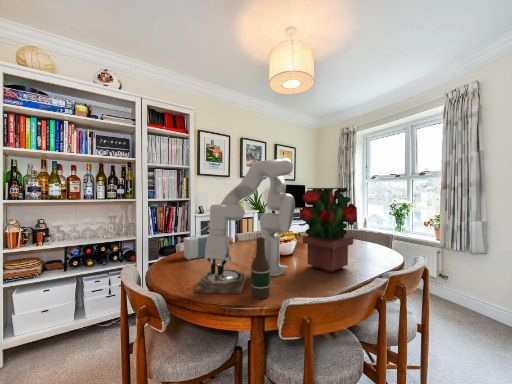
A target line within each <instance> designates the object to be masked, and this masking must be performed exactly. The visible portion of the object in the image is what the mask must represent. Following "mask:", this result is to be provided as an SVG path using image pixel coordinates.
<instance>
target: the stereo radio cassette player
mask: <svg viewBox="0 0 512 384" xmlns="http://www.w3.org/2000/svg"><path fill="white" fill-rule="evenodd" d="M208 227H209V225H207V226H206V227H204V228H202V229H200V230H199V231H198V232H196V233H195V234H194V235H192V236H187V237H183V257H184V258H185V259H186V260H189V261H190V260H193V259H194V260H195V259H200V258H203V257H204V256H205V248H206V241H207V237H208V235H210V234H209V233H208V234H202V235H198V234H199V233H201V232H202V231H203V230H205V229H206V228H208ZM204 258H205V257H204Z"/></svg>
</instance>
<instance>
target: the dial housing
mask: <svg viewBox="0 0 512 384" xmlns="http://www.w3.org/2000/svg"><path fill="white" fill-rule="evenodd" d="M224 271H232V272H235V273H237V274H238V280H235V281H232V282H229V283H216V282H210V281H208V275H209V274H211V270H210V271H207V272H205V273H204V274H202V276H201V278H200V282H199V283H198V284H197V286H196V287H195V289H194V290H195V293H202V294H203V293H204V294H205V293H207V294H208V293H210V294H238V295H240V294H241V295H242V294H243V290H244V288H245V283H246V281H247V276H248V274H247V273H244V272H241V271H239V270H237V269H235V268H234V269H228V268H224Z"/></svg>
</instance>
